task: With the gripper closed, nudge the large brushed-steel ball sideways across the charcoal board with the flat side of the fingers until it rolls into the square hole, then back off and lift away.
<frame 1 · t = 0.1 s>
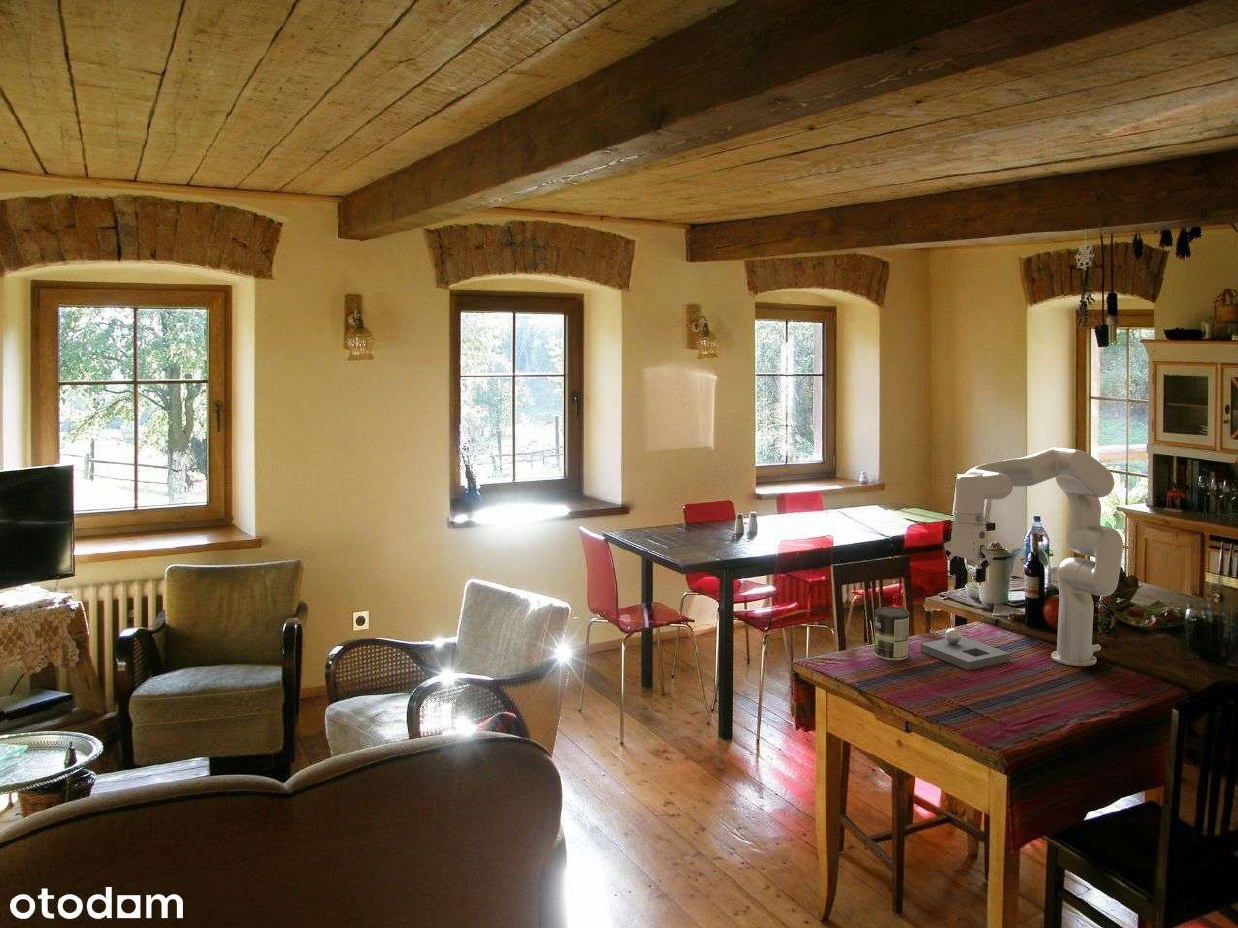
hand: (967, 578, 282), 31 cm above the table, fingers open, 9 cm apart
hole board: (964, 655, 311), on the table
coffee can: (891, 655, 313), on the table
steel ball: (952, 636, 315), point 5 cm above the table, touching hole board
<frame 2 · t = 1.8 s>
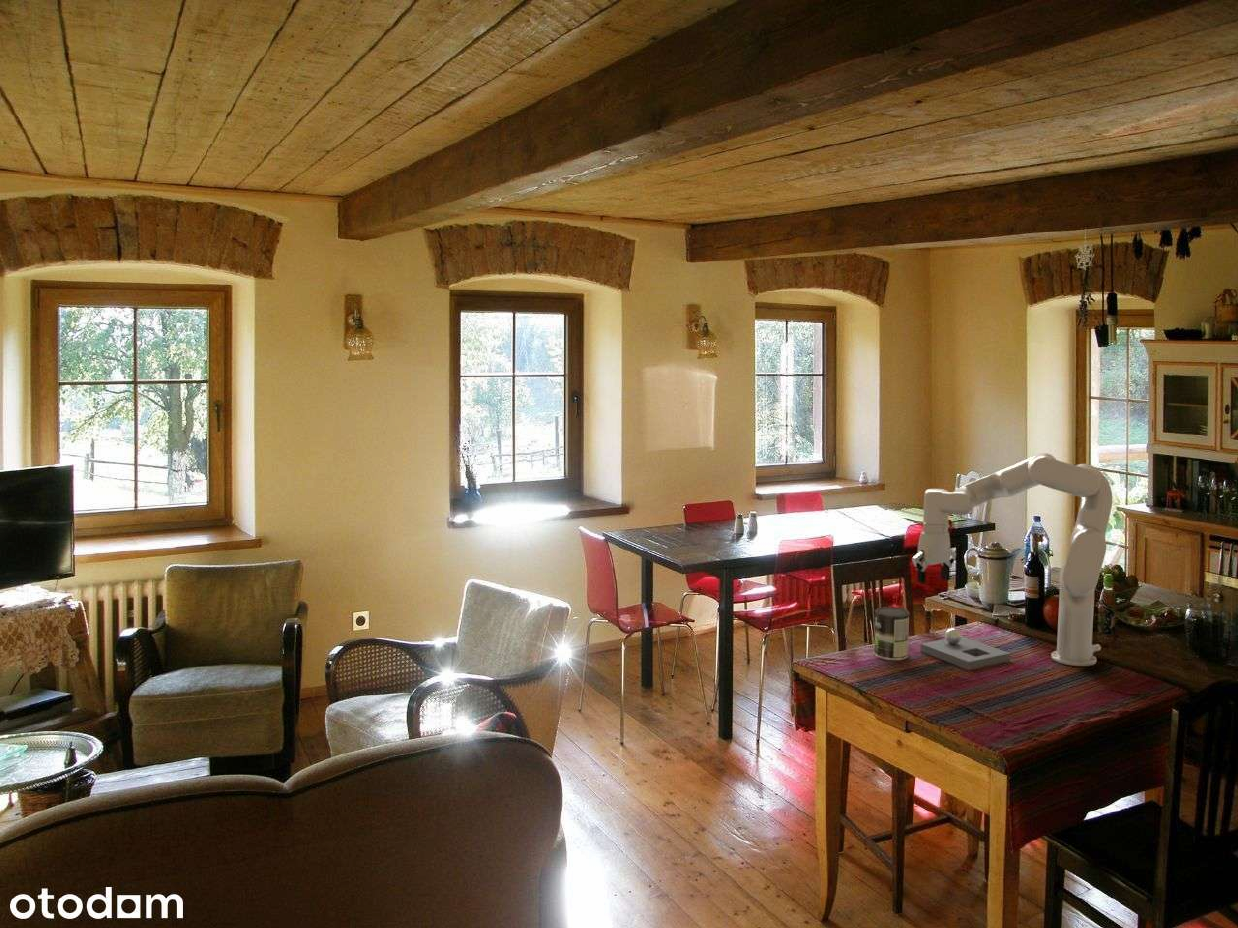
hand: (933, 581, 319), 21 cm above the table, fingers open, 9 cm apart
nothing on the table moved.
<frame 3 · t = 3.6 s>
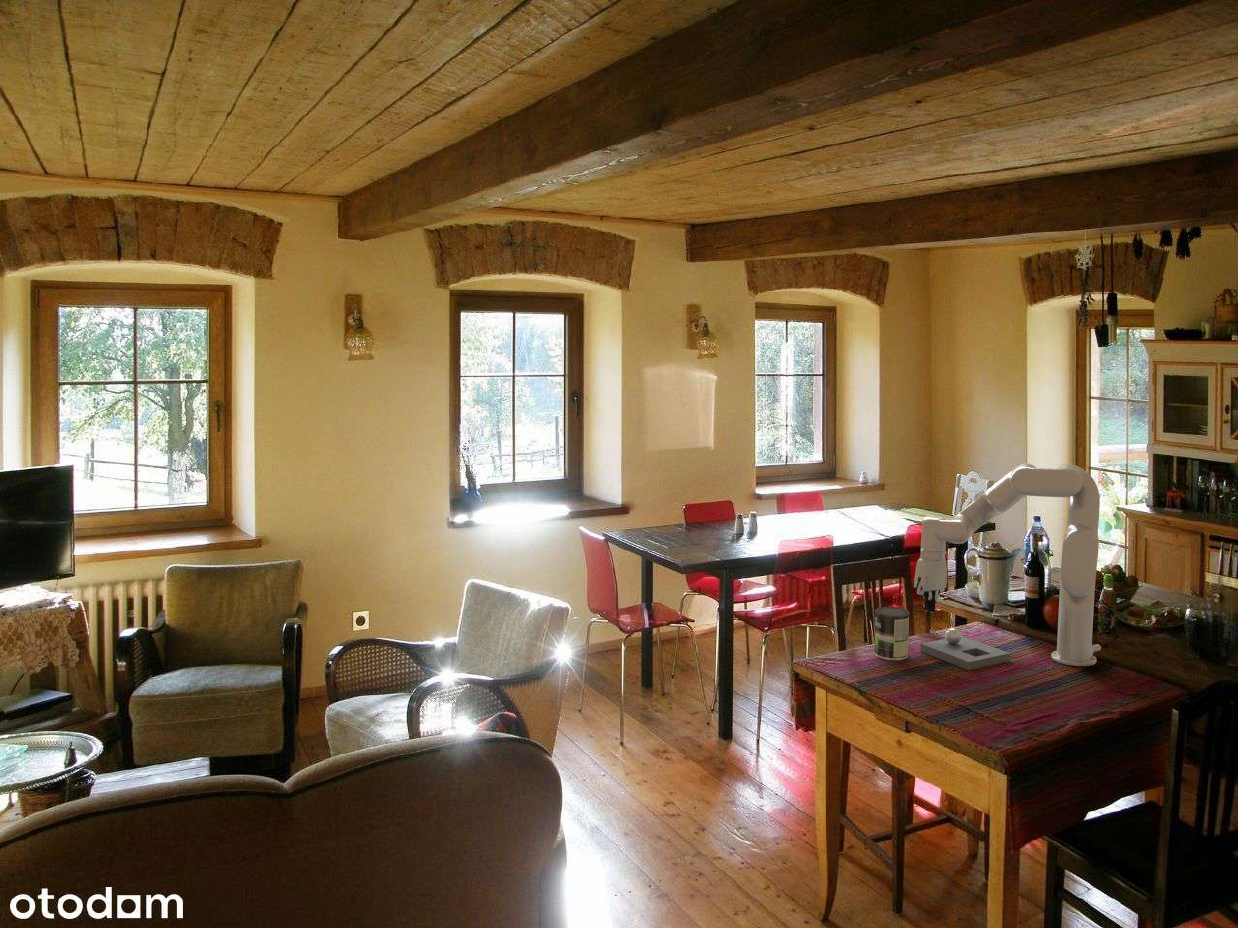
hand: (929, 610, 323), 11 cm above the table, fingers closed
nothing on the table moved.
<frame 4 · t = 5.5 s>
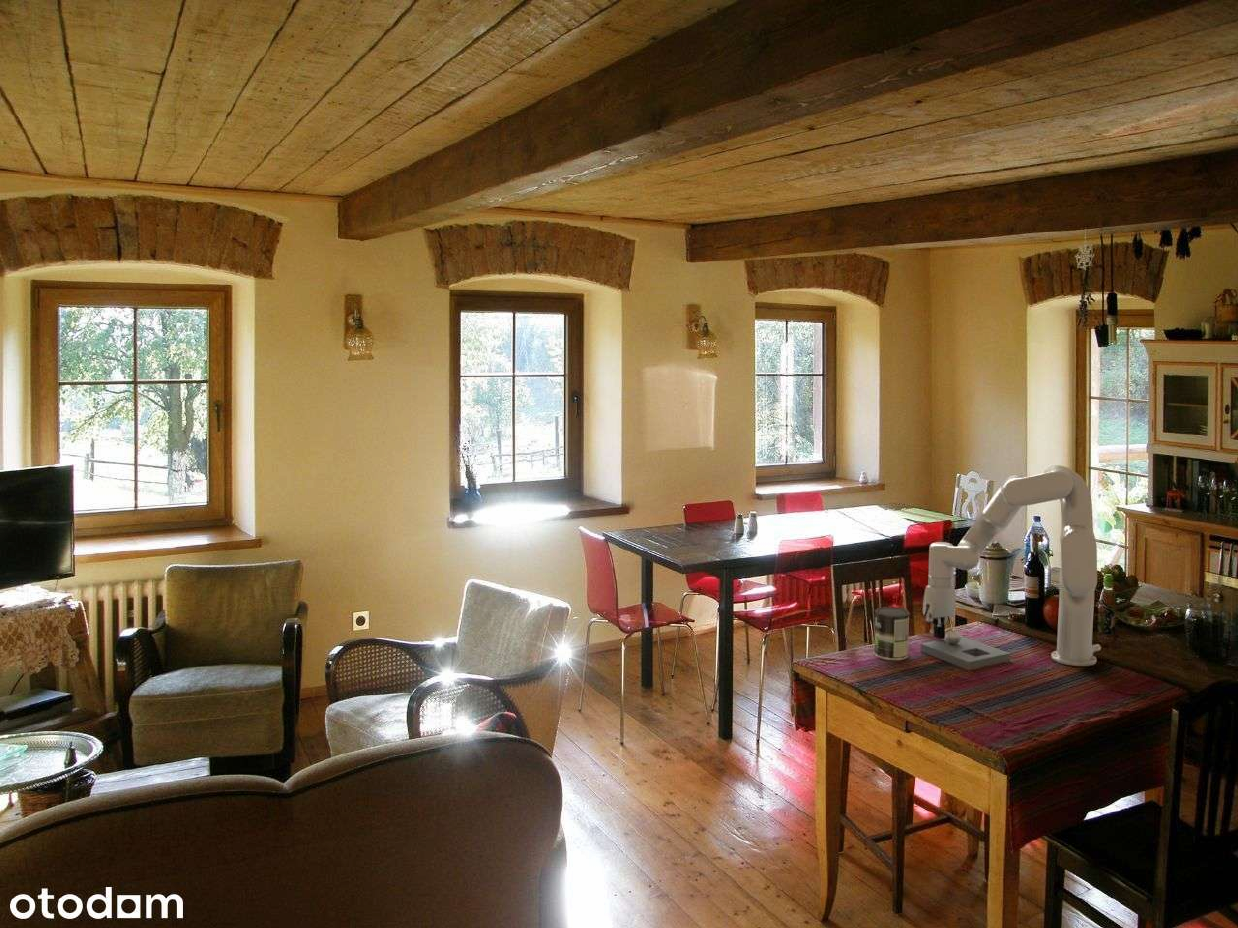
hand: (939, 637, 321), 3 cm above the table, fingers closed
nothing on the table moved.
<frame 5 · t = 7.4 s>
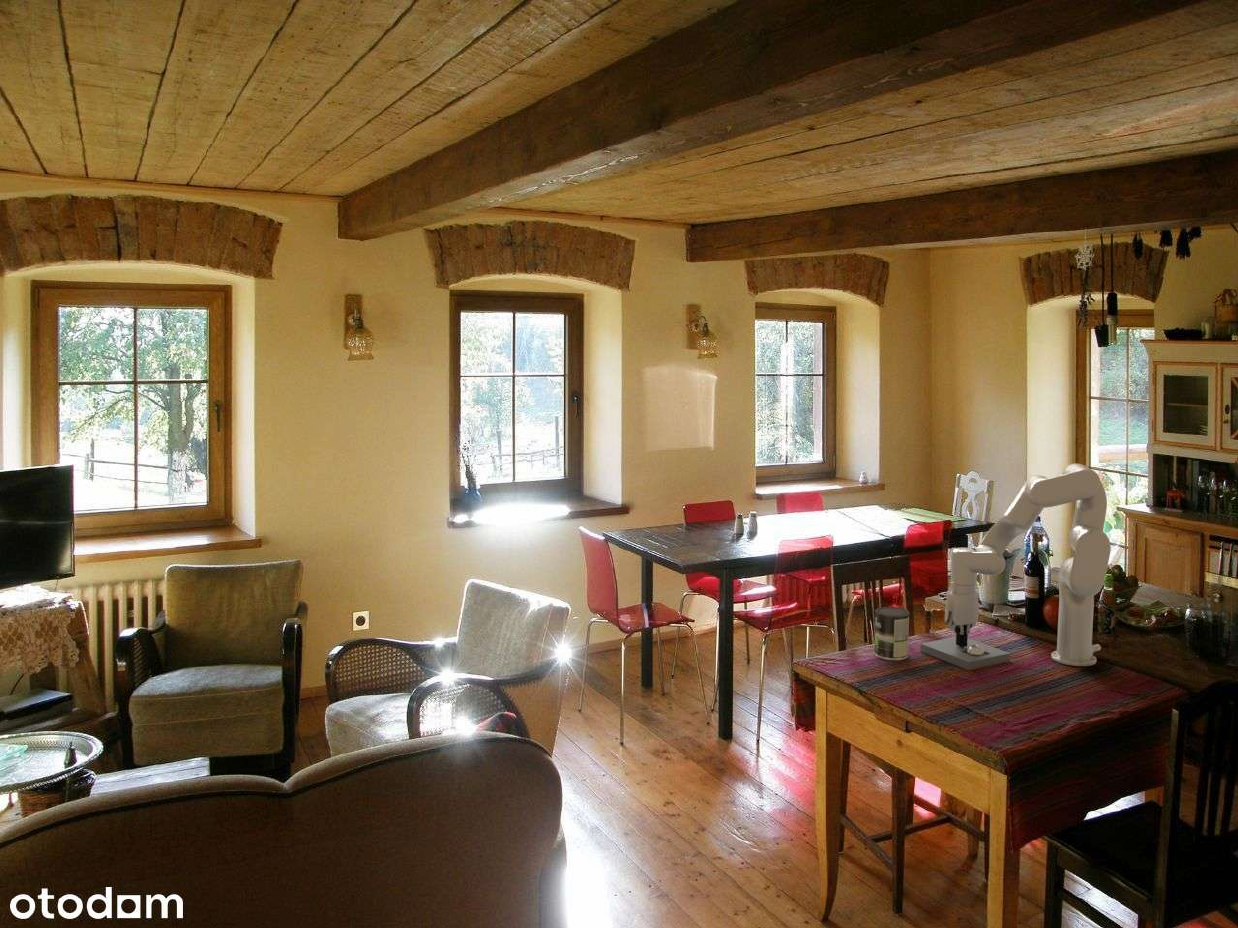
hand: (961, 645, 312), 3 cm above the table, fingers closed
steel ball: (975, 652, 307), point 2 cm above the table, tilted 109°
everything else where it was.
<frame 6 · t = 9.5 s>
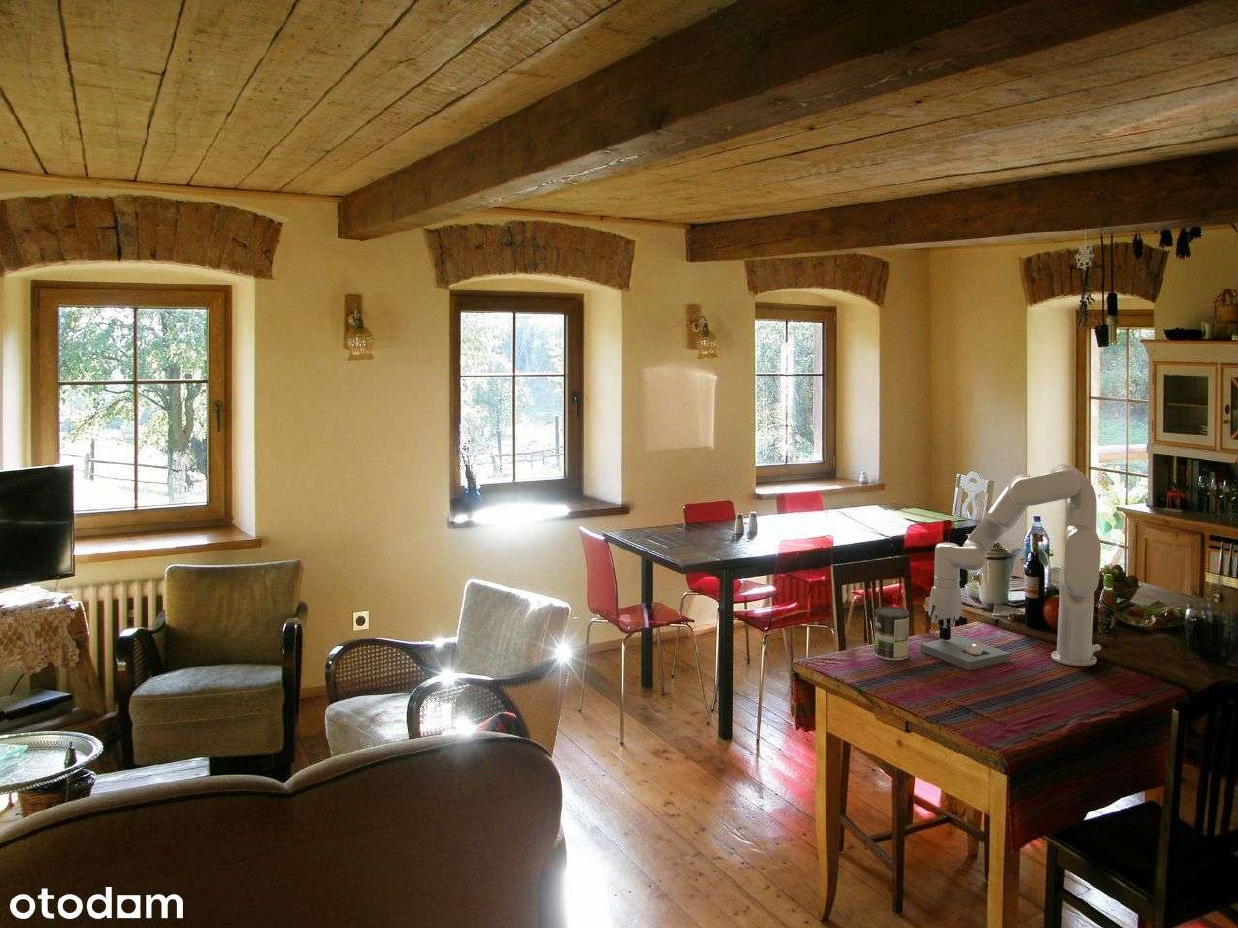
hand: (944, 638, 318), 3 cm above the table, fingers closed
steel ball: (974, 652, 307), point 2 cm above the table, tilted 121°
everything else where it was.
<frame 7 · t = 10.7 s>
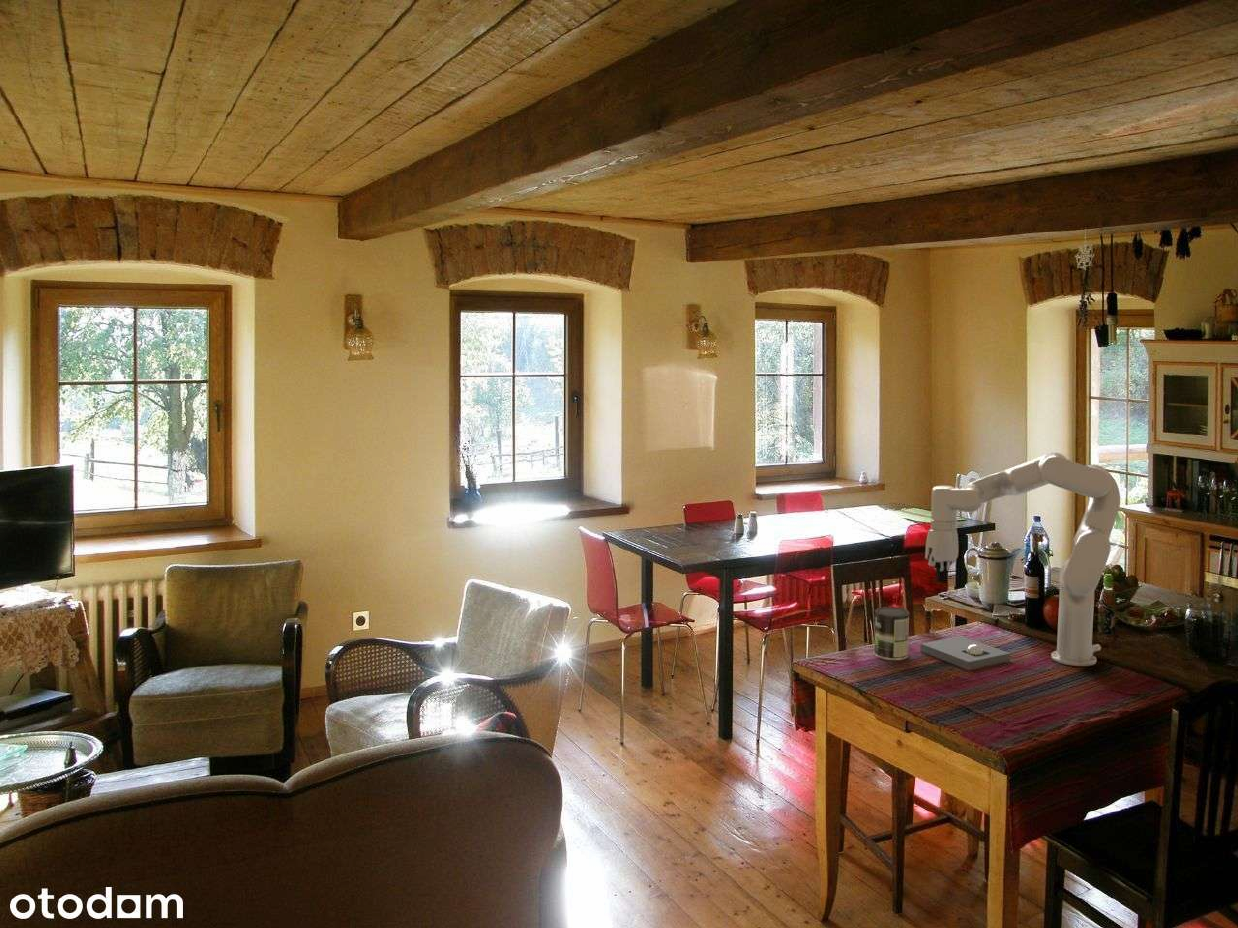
hand: (941, 582, 318), 21 cm above the table, fingers closed
nothing on the table moved.
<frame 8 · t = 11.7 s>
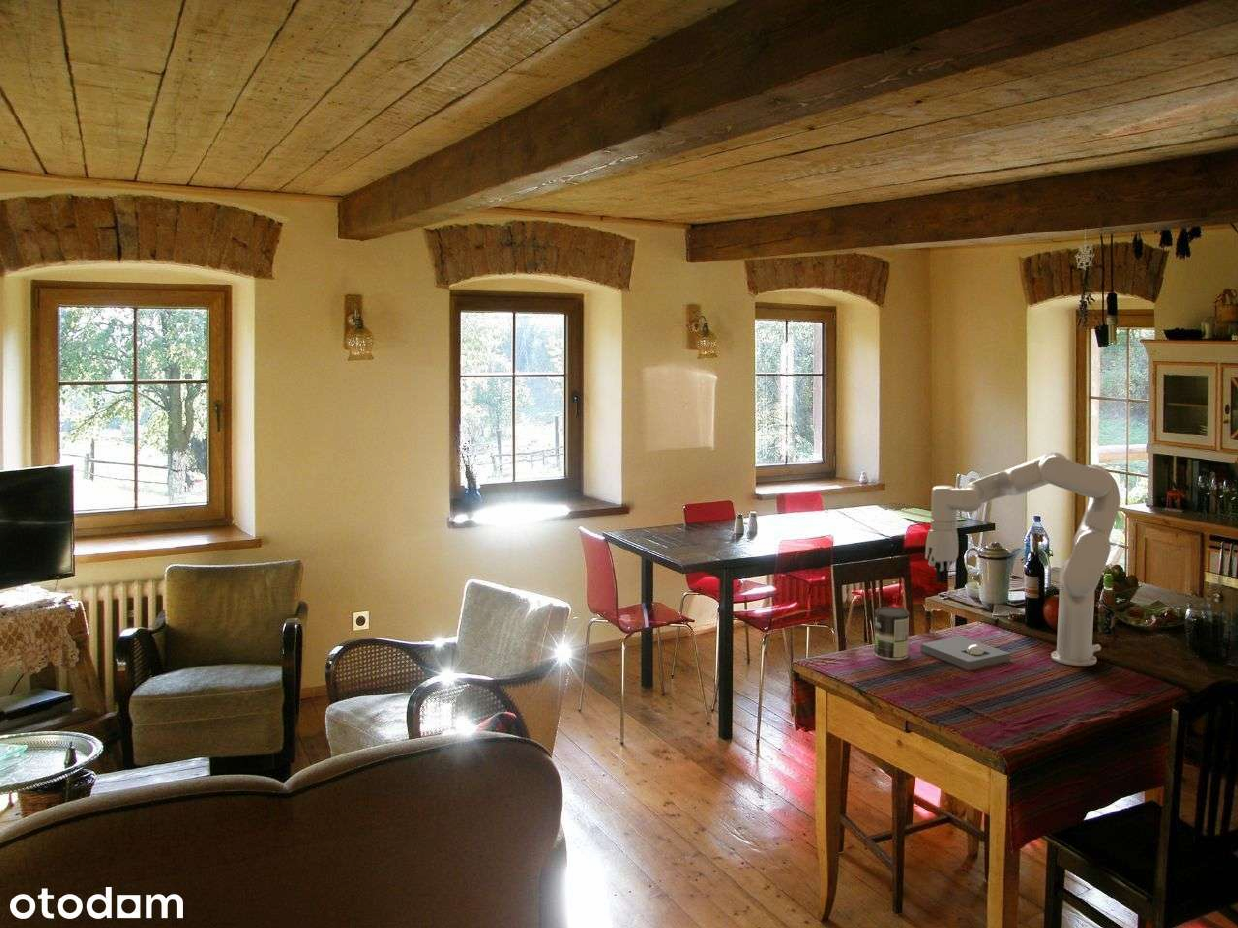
hand: (941, 582, 318), 21 cm above the table, fingers closed
nothing on the table moved.
at the end: steel ball 0.3 cm from the target spot on the hole board, point 2.5 cm above the hole board's base; coffee can moved 0.2 cm from its start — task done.
